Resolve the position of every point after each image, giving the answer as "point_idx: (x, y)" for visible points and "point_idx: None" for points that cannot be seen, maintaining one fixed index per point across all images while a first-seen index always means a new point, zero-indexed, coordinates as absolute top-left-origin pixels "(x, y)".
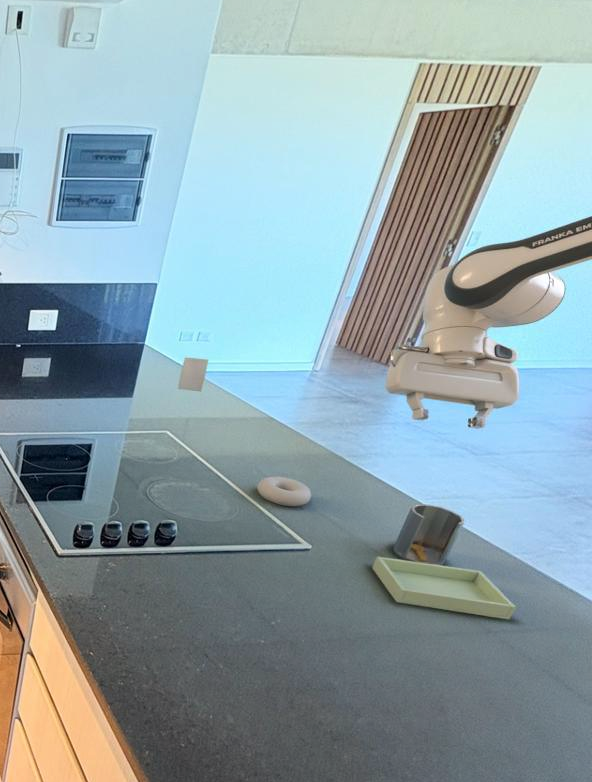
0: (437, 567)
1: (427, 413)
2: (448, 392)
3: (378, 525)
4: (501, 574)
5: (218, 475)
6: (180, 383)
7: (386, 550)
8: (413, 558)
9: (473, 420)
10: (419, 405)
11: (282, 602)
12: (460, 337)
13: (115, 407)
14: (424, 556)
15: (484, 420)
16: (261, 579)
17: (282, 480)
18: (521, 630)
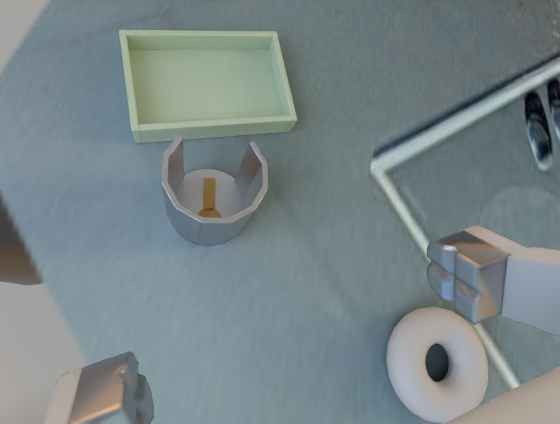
0: (205, 121)
1: (459, 249)
2: (540, 403)
3: (256, 319)
4: (67, 197)
5: None
6: None
7: (258, 206)
8: (224, 179)
9: (135, 403)
10: (553, 253)
11: (396, 10)
12: None
13: None
14: (206, 183)
15: (54, 408)
16: (421, 51)
17: (456, 394)
18: (116, 27)
